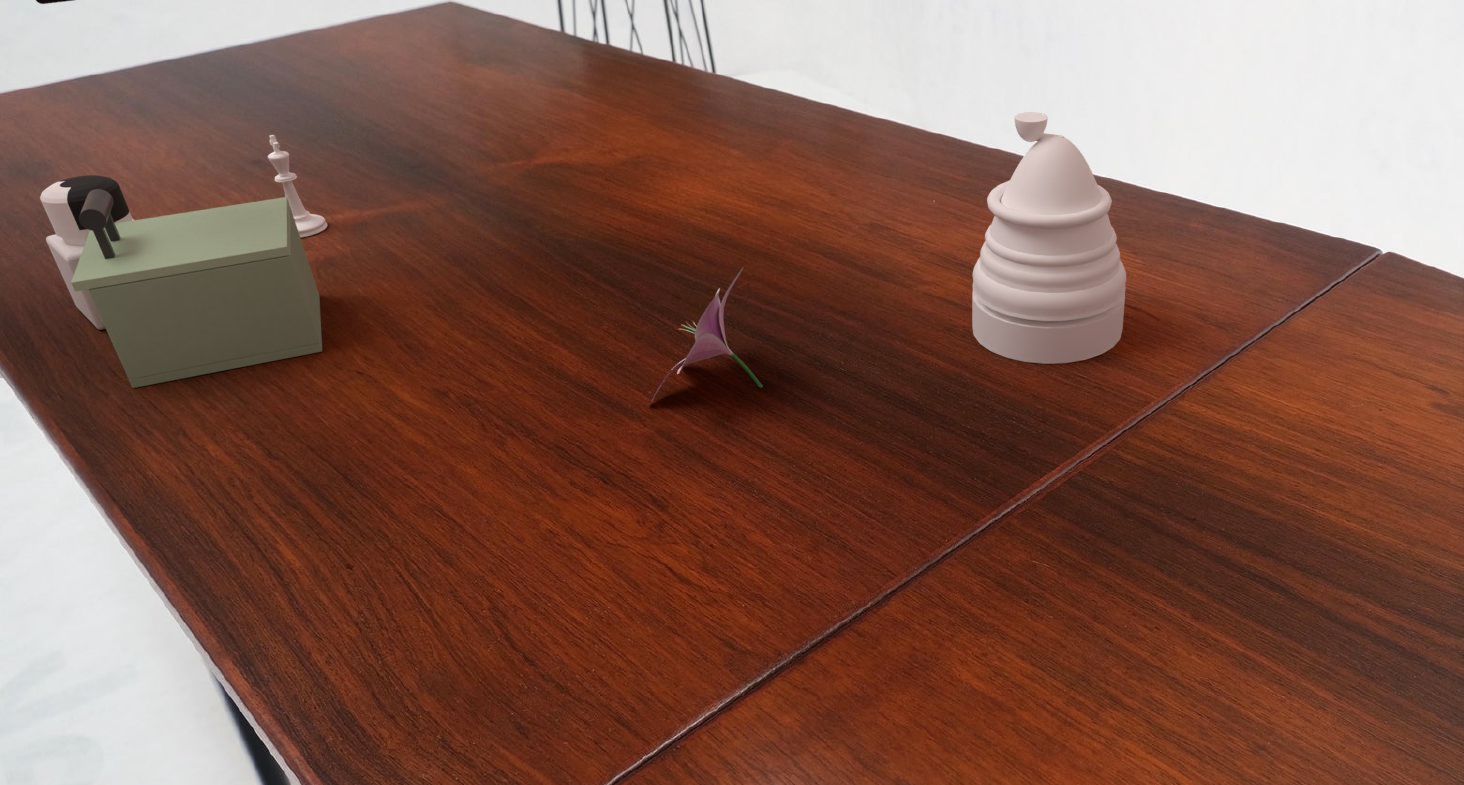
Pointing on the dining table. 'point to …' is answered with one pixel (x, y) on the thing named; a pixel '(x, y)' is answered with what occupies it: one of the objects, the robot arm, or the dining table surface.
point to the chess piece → (294, 193)
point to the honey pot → (1049, 258)
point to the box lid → (177, 240)
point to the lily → (710, 337)
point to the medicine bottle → (77, 229)
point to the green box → (214, 317)
